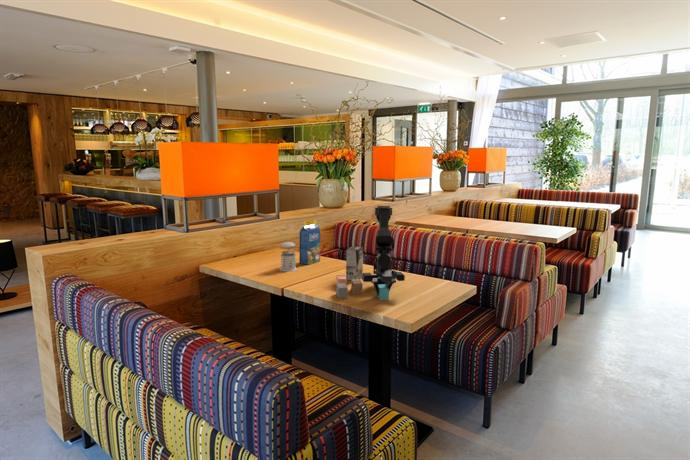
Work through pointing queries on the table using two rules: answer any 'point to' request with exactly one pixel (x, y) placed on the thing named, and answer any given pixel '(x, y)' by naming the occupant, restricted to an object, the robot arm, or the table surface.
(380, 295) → the teal brick
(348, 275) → the coffee box
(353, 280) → the walnut brick
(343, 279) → the terracotta brick
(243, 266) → the table surface
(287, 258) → the french press
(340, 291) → the charcoal brick
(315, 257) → the blue food package
